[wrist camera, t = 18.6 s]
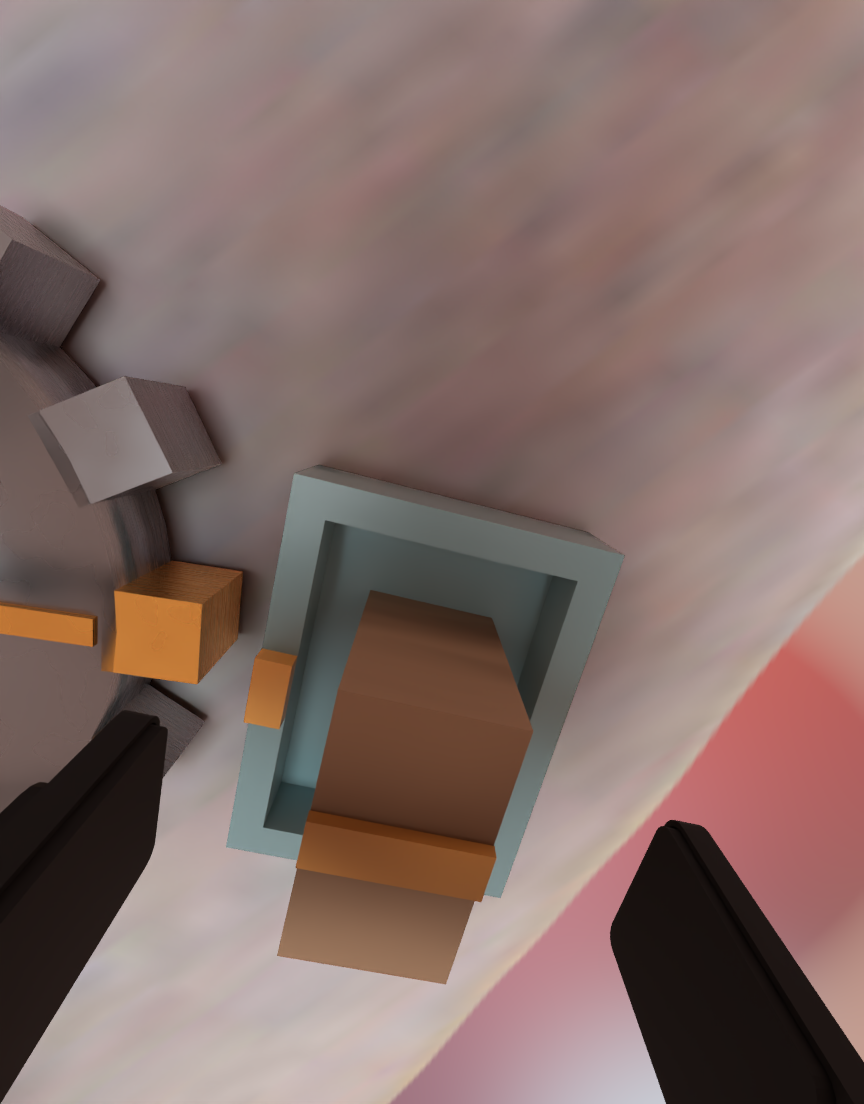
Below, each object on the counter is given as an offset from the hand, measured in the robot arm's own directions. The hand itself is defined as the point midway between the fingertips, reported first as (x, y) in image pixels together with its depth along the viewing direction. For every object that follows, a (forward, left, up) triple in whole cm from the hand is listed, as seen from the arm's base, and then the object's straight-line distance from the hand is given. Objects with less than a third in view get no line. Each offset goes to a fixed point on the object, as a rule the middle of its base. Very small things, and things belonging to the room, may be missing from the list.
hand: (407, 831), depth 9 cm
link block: (+1, +1, -7) cm, 7 cm away
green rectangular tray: (0, +1, -8) cm, 8 cm away
